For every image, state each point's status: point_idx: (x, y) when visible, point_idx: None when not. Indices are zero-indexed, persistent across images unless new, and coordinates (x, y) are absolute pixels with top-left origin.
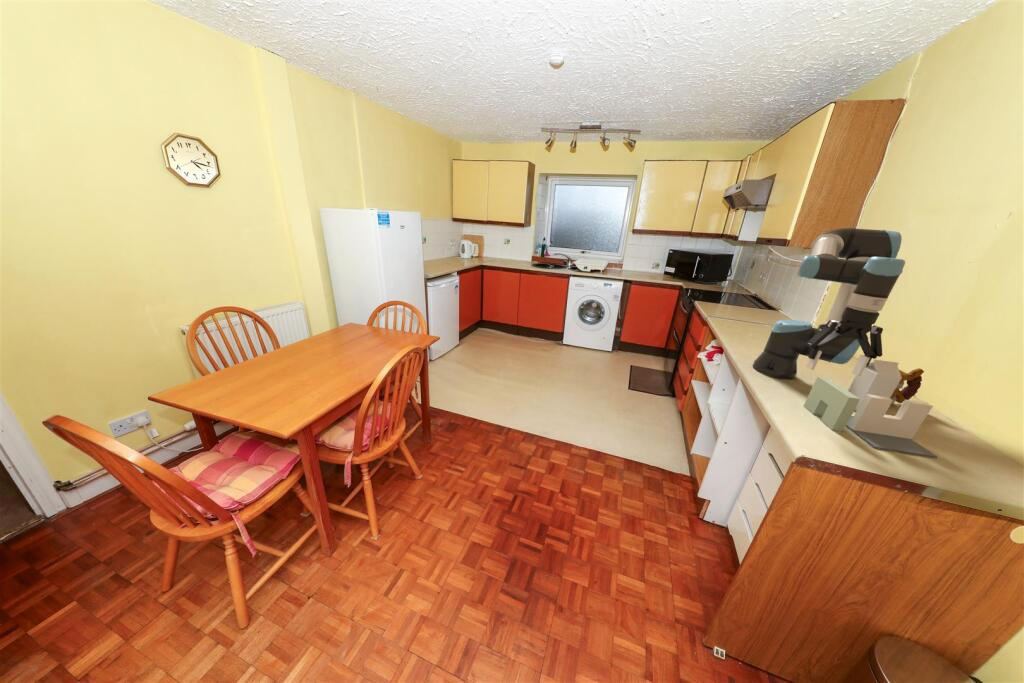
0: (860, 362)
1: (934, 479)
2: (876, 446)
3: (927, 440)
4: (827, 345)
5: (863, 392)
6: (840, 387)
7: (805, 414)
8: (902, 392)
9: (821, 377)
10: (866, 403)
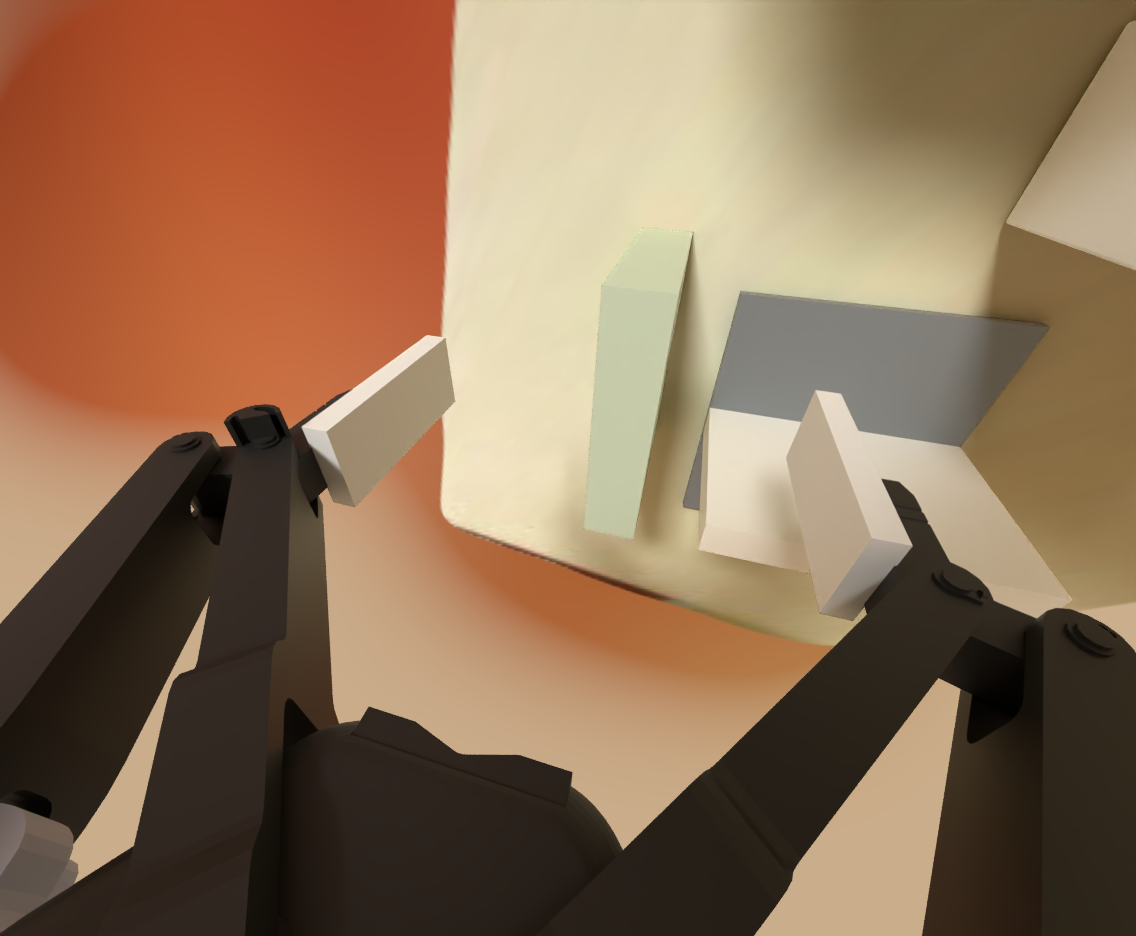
0: (821, 511)
1: (722, 590)
2: (689, 506)
3: (1063, 459)
4: (322, 569)
5: (1125, 220)
6: (636, 441)
7: (591, 320)
8: None
9: (622, 301)
10: (700, 512)
